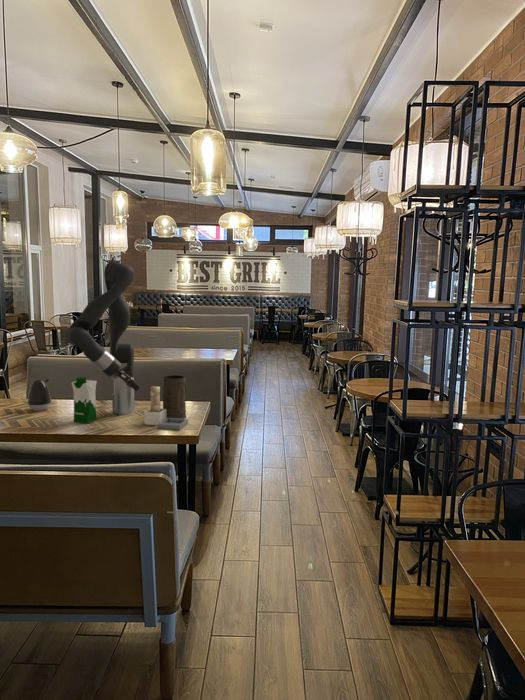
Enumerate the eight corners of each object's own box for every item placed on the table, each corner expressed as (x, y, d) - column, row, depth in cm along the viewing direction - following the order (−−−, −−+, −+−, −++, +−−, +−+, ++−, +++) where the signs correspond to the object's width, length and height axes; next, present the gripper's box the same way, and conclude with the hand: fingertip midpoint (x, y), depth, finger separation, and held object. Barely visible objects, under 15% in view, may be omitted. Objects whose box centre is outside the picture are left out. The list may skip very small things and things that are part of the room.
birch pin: (149, 423, 212) (149, 387, 210) (153, 420, 216) (152, 385, 214) (157, 424, 211) (157, 388, 209) (161, 421, 215) (161, 386, 213)
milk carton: (70, 422, 213) (69, 378, 210) (84, 417, 221) (83, 374, 218) (87, 424, 210) (85, 379, 207) (100, 419, 218) (99, 376, 216)
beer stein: (180, 422, 216) (181, 378, 214) (158, 420, 218) (159, 376, 216) (192, 415, 231) (193, 374, 229) (171, 414, 233) (172, 373, 231)
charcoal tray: (157, 429, 205) (157, 423, 205) (166, 423, 215) (166, 417, 214) (179, 431, 203) (179, 425, 203) (188, 424, 213) (188, 419, 212)
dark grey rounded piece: (56, 409, 234) (55, 378, 232) (36, 413, 225) (35, 381, 223) (43, 406, 239) (42, 376, 237) (23, 410, 231) (22, 379, 228)
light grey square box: (144, 425, 211) (144, 411, 210) (151, 420, 218) (151, 407, 217) (159, 426, 209) (159, 413, 209) (166, 421, 216) (166, 408, 216)
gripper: (118, 358, 194) (146, 383, 201) (108, 354, 205) (135, 377, 213) (105, 372, 191) (134, 397, 199) (95, 367, 203) (123, 390, 211)
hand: (134, 387), depth 206 cm, fingers open, 8 cm apart
